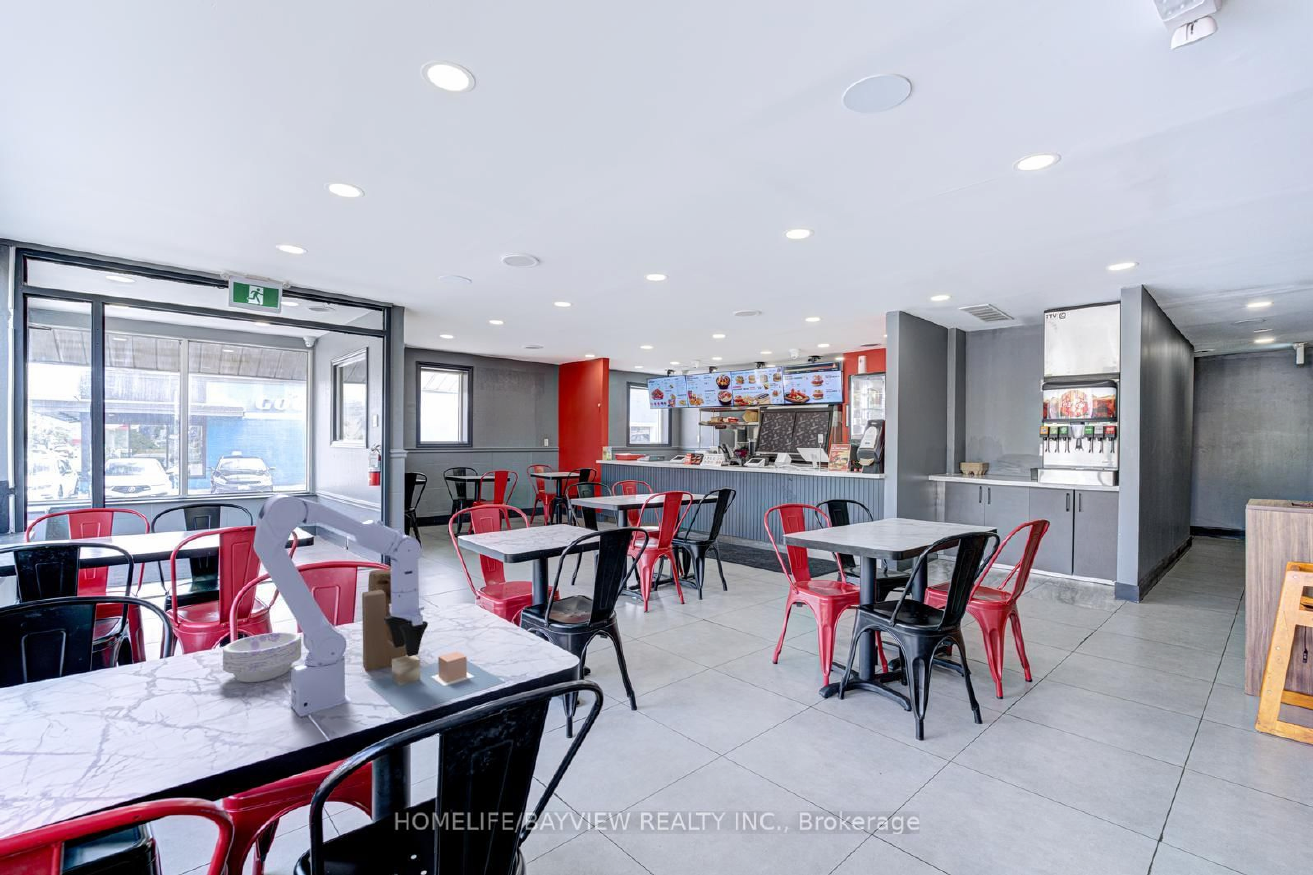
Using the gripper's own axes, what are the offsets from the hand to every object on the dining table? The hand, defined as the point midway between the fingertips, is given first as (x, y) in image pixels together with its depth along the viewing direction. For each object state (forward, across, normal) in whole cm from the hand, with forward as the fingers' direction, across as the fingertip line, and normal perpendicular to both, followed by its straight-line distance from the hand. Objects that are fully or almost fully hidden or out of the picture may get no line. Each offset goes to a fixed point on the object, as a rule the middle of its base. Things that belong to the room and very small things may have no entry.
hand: (406, 650), depth 135 cm
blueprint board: (+7, -6, -4) cm, 10 cm away
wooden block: (+7, +13, 0) cm, 15 cm away
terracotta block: (+6, -6, -8) cm, 12 cm away
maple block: (+6, 0, 0) cm, 6 cm away
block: (+7, +26, -5) cm, 27 cm away
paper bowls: (+7, +28, +22) cm, 36 cm away
